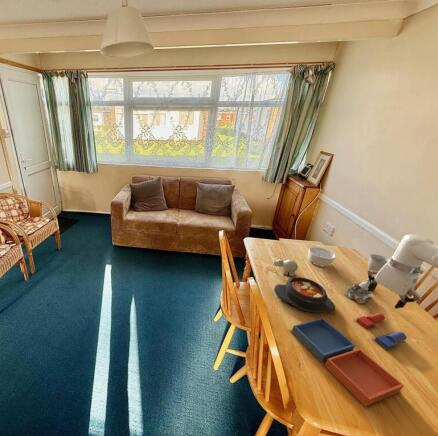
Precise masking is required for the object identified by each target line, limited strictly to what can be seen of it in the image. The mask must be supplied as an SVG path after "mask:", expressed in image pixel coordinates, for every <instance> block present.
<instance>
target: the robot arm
mask: <svg viewBox="0 0 438 436" xmlns="http://www.w3.org/2000/svg"><path fill="white" fill-rule="evenodd" d="M389 260H390V261H389V262H387V263H386V264H385V265H384V266H383V267H382V268H381V270H380V271H373V270H369V269H368V270H367V278H369V280H370V281H369V283H370V285H369V286H368V288H369V289H368V290H367V291H368V292H371V293H372V292H374V291H375V290H376V288H377V287H378V285H380V286H382V287H384V288H385V289H387V290H390V291H391V292H393V293H395V294H396V295H398V296H399V299H398V300H397V302H396V304H395V305H394V309H396V310H397V309H403V308H404V307H405V306H406V304H407V303H415V302H417V301H421V300H422V299H423V297H422V296H421V295H420V294H419V293H418V292H417V291H416V290H415V287H416V285H417V283H418V280H419V276H420V275H422V274H423V273H424V270H422V269H421V268H422V267H421V266H422V265H423V263H426V264H428V265H429V266H431V267H434V268H436V269H438V245H435V244H434V241H433V240H432V239H430V238H428V237H426V236H424V235H423V236H422V235H419V234H415V233H414V234H413V233H412V234H411V233H410V234H406V235H404V236H403V237H402V239H401V241H400V243H399V245H398V246H397V248H396V250H395V251H394V253H393V254H392V257H391V258H390V259H389ZM374 275H375V276H374ZM409 295H412V297H410V296H409Z"/></svg>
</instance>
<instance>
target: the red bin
mask: <svg viewBox="0 0 438 436" xmlns="http://www.w3.org/2000/svg"><path fill="white" fill-rule="evenodd" d="M324 367H326V368H327V370H328V371H330V372H331V374H332V375H333V376H334V377H335V378H336V379H337V380H338V381H339V382H340V383H341V384H342V385H344V387H345V388H346V389H347V390H348V391H349V392H350V393H351V394H352V395H353V396H354V397H355V398H356V399H357V400H358V401H359V402H360V403H361V404H362V405H363V406H364V407H367V406H370V405H372V404H375V403H377V402H379V401H382V400H384V399H387V398H389V397H391V396H394V395H396V394H398V393H400V392H401V390H402V389H403V388H404V387H405V385H404V383H402V382H401V381H400V380H398V379H397V378H396V377H395V376H394V375H392V374H391V373H390V372H389V371H388V370H386V369H385V368H384V367H383V366H381V365H380V364H379V363H378V362H377V361H376V360H374V359H373V358H372V357H370V355H368V354H367V353H366V352H365V351H363V350H362V349H361V348H356V349H353V350H352V351H350V352H347V353H344V354H341V355H338V356H335V357H332V358H329V359H328V360H326V361H325V363H324Z"/></svg>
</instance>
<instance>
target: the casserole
mask: <svg viewBox="0 0 438 436" xmlns="http://www.w3.org/2000/svg"><path fill="white" fill-rule="evenodd" d="M273 290H274V293H275V295H276V296H277V298H278V299H280V300H282V301H284V302H286V303H289V304H290V305H292V306H293V307H295V308H297V309H299V310H301V311H304V312H309V313H315V314H316V313H329V314H330V313H334V312H335V311H336V306H335V304H334V302H333V301H332V300H331V298H330V297H329V296H328V294H327V291H326V289H325V288H324V287H323V286H322V285H321V284H320V283H318V282H316V281H315V280H312V279H310V278H307V277H301V276H294V277H291V278H290V279H288V280H287V281H286V282H285V284H279V283H278V284H276V285H275V286H274V288H273Z"/></svg>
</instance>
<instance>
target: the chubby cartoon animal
mask: <svg viewBox="0 0 438 436" xmlns="http://www.w3.org/2000/svg"><path fill="white" fill-rule="evenodd" d="M273 266H274V267H278V268H282V269H283V271H282V274H283V275H285V276H289V277H291V278H293V277H295V275H296V274H295V273H296V272H297V270H298V268H299V266H298V263H297V262H296V261H295V260H292V259H285V260H283V259H282V257H279V259H277V260H275V259H273Z"/></svg>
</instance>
